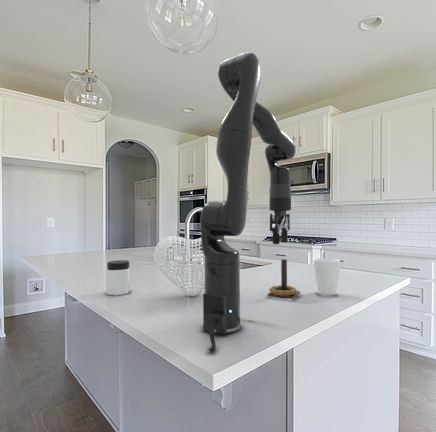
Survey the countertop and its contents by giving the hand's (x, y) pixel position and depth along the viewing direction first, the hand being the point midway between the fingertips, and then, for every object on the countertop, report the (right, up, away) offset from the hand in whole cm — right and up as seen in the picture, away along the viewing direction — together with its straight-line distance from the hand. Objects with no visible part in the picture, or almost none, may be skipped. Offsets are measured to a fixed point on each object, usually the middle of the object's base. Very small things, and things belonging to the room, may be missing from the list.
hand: (280, 243), depth 108 cm
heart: (-31, -20, +5) cm, 38 cm away
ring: (+1, -17, +3) cm, 18 cm away
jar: (-61, -20, +10) cm, 65 cm away
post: (+2, -20, +3) cm, 20 cm away
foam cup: (+18, -20, +6) cm, 28 cm away
